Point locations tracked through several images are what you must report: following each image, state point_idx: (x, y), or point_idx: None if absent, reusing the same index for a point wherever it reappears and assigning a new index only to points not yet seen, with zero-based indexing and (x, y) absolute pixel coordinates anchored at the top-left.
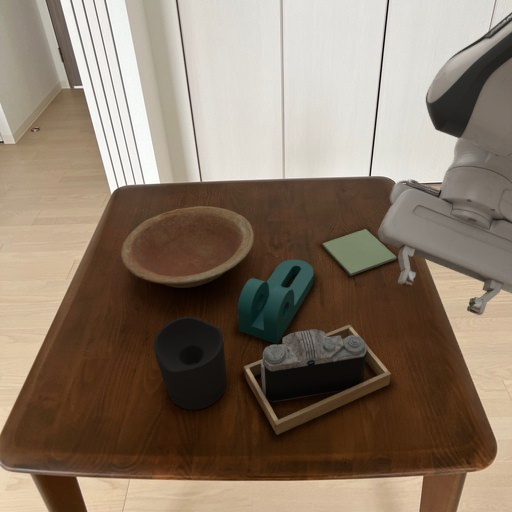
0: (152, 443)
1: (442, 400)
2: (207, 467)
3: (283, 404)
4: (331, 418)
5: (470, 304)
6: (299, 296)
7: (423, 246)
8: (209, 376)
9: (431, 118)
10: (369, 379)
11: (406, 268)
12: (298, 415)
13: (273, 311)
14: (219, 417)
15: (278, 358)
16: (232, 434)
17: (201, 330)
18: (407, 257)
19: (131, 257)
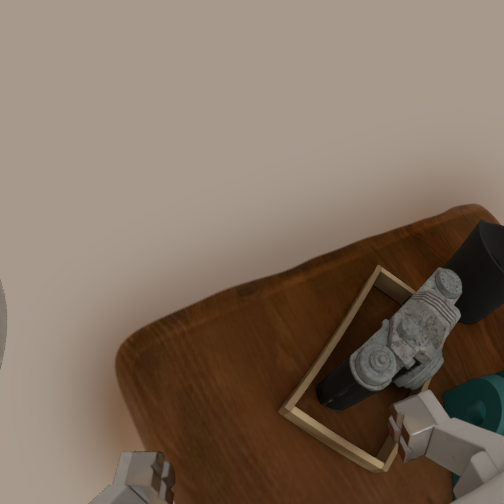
0: (438, 234)
1: (186, 415)
2: (394, 230)
3: (386, 315)
4: (328, 322)
5: (167, 485)
6: None
7: (479, 499)
8: (465, 247)
9: None
10: (312, 379)
11: (449, 421)
12: (366, 284)
13: (490, 377)
14: (422, 274)
15: (441, 272)
16: (401, 263)
17: None
18: (479, 441)
19: None
